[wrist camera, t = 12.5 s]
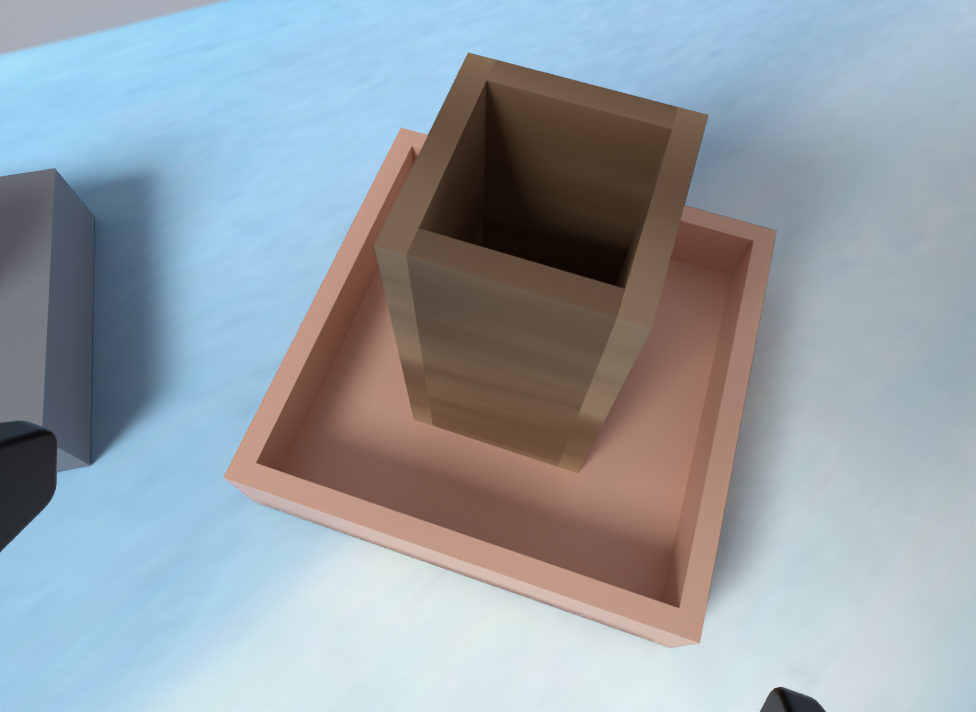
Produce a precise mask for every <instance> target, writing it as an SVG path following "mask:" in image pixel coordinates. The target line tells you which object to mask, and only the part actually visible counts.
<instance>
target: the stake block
mask: <svg viewBox="0 0 976 712" xmlns="http://www.w3.org/2000/svg"><path fill="white" fill-rule="evenodd" d="M94 225H95V217H94V216H93V214H92V213H91V212H90V211H89V209H88V208H87V207H86V206H85V205H84V203H83V202H82V201H81V200H80V198H79V197H78V196H77V195H76V194H75V192H74V191H73V190H72V189H71V187H70V186H69V185H68V184H67V183H66V181H65V180H64V179H63V178H62V176H61V175H60V174H59V173H58V171H57V170H56V169H55V168H54V169H48V170H41V171H34V172H28V173H21V174H15V175H8V176H2V177H0V423H1V422H10V421H19V420H21V421H27V422H31V423H34V424H36V425H39V426H42V427H45V428H48V429H50V430H51V431H53V432H54V433H55V435H56V438H57V442H58V447H57V472H60V471H65V470H70V469H75V468H80V467H85V466H90V447H91V391H92V336H93V281H94Z"/></svg>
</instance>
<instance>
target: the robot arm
mask: <svg viewBox="0 0 976 712" xmlns="http://www.w3.org/2000/svg"><path fill="white" fill-rule="evenodd" d="M57 447H58V442H57V438H56V435H55V433H54V432H53V431H51V430H50V429H48V428H45V427H42V426H39V425H36V424H34V423H31V422H27V421H21V420H19V421H10V422H1V423H0V552H1V551H2V550H3V549H4V548H5V547H6V546H7V545H8V544H9V543H10V542H11V541H12V540H13V539H14V538H15V537H16V536H17V535H18V534H19V533H20V532H21V531H22V530H23V529H24V528H25V527H26V526H27V525H28V524H29V523H30V522H31V521H32V520H33V519H34V518H35V517H36V516H37V515H38V514H39V513H40V512H41V511H42V510H43V509H44V508H45V507H46V506H47V505H48V503H49V502H50V501H51V499H52V497H53V495H54V493H55V490H56V484H57ZM760 712H826V711H825V710H824V709H823V707H822V706H821V705H820V704H819V703H818V702H817V701H816V700H815V699H813V698H812V697H809V696H807V695H804V694H801V693H798V692H795V691H792V690H790V689H787V688H784V687H777V688H774V689H773V690H772V691H771V692H770V694H769V695H768V697H767V699H766V701H765V703H764V705H763V707H762V709H761V711H760Z"/></svg>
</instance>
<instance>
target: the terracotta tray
mask: <svg viewBox="0 0 976 712" xmlns="http://www.w3.org/2000/svg"><path fill="white" fill-rule="evenodd" d="M427 136H428V135H426V134H422V133H418V132H415V131H411V130H408V129H404V128H401V129H400V131H399V133H398V135H397V137H396V139H395V141H394V142H393V144H392V146H391V148H390V150H389V152H388V154H387V156H386V158H385V160H384V162H383V164H382V166H381V168H380V170H379V172H378V174H377V176H376V178H375V180H374V182H373V184H372V186H371V188H370V190H369V192H368V194H367V196H366V198H365V200H364V202H363V204H362V206H361V207H360V209H359V211H358V213H357V215H356V217H355V219H354V221H353V223H352V225H351V227H350V229H349V231H348V233H347V235H346V237H345V239H344V241H343V243H342V245H341V247H340V249H339V251H338V253H337V255H336V257H335V259H334V261H333V263H332V265H331V267H330V269H329V270H328V272H327V274H326V276H325V278H324V280H323V282H322V284H321V286H320V288H319V290H318V292H317V294H316V296H315V298H314V300H313V302H312V304H311V306H310V308H309V310H308V312H307V314H306V316H305V318H304V320H303V322H302V324H301V326H300V328H299V330H298V332H297V334H296V335H295V337H294V339H293V341H292V343H291V345H290V347H289V349H288V351H287V353H286V355H285V357H284V359H283V361H282V363H281V365H280V367H279V369H278V371H277V373H276V375H275V377H274V379H273V381H272V383H271V385H270V387H269V389H268V391H267V393H266V395H265V397H264V399H263V400H262V402H261V404H260V406H259V408H258V410H257V412H256V414H255V416H254V418H253V420H252V422H251V424H250V426H249V428H248V430H247V432H246V434H245V436H244V438H243V440H242V442H241V444H240V446H239V448H238V450H237V452H236V454H235V456H234V458H233V460H232V462H231V463H230V465H229V467H228V469H227V471H226V473H225V475H224V477H223V478H225V479H226V480H227V481H228V482H230V483H231V484H232V485H233V486H235V487H236V488H237V489H238V490H240V491H241V492H242V493H243V494H244V495H246V496H247V497H248V498H249V499H251V500H252V501H253V502H256V503H259V504H262V505H265V506H268V507H270V508H273V509H276V510H279V511H282V512H285V513H287V514H290V515H293V516H296V517H299V518H302V519H305V520H307V521H310V522H313V523H316V524H319V525H322V526H325V527H327V528H330V529H333V530H336V531H339V532H342V533H345V534H347V535H350V536H353V537H356V538H359V539H362V540H364V541H367V542H370V543H373V544H376V545H379V546H382V547H384V548H387V549H390V550H393V551H396V552H399V553H402V554H404V555H407V556H410V557H413V558H416V559H419V560H422V561H424V562H427V563H430V564H433V565H436V566H439V567H441V568H444V569H447V570H450V571H453V572H456V573H459V574H461V575H464V576H467V577H470V578H473V579H476V580H479V581H481V582H484V583H487V584H490V585H493V586H496V587H499V588H501V589H504V590H507V591H510V592H513V593H516V594H518V595H521V596H524V597H527V598H530V599H533V600H536V601H538V602H541V603H544V604H547V605H550V606H553V607H556V608H558V609H561V610H564V611H567V612H570V613H573V614H576V615H578V616H581V617H584V618H587V619H590V620H593V621H595V622H598V623H601V624H604V625H607V626H610V627H613V628H615V629H618V630H621V631H624V632H627V633H630V634H633V635H635V636H638V637H641V638H644V639H647V640H650V641H653V642H655V643H658V644H661V645H664V646H667V647H670V648H673V647H679V646H685V645H692V644H698V643H700V639H701V633H702V628H703V623H704V617H705V612H706V607H707V601H708V596H709V590H710V585H711V580H712V574H713V569H714V564H715V558H716V553H717V548H718V542H719V537H720V531H721V526H722V521H723V515H724V510H725V505H726V499H727V494H728V489H729V483H730V478H731V472H732V467H733V462H734V456H735V451H736V446H737V440H738V435H739V430H740V424H741V419H742V413H743V408H744V403H745V397H746V392H747V387H748V381H749V376H750V371H751V365H752V360H753V354H754V349H755V344H756V338H757V333H758V328H759V322H760V317H761V312H762V306H763V301H764V295H765V290H766V285H767V279H768V274H769V269H770V263H771V258H772V252H773V247H774V242H775V236H776V230H772V229H769V228H765V227H761V226H758V225H754V224H750V223H747V222H743V221H739V220H736V219H732V218H729V217H725V216H721V215H718V214H714V213H710V212H707V211H703V210H699V209H696V208H692V207H688V206H685V205H684V209H683V212H682V216H681V220H680V224H679V228H678V231H677V235H676V239H675V243H674V246H673V250H672V254H671V258H670V262H669V265H668V269H667V273H666V277H665V280H664V284H663V288H662V292H661V296H660V299H659V303H658V307H657V311H656V314H655V318H654V322H653V326H652V329H651V331H650V333H649V335H648V337H647V339H646V341H645V343H644V345H643V347H642V349H641V351H640V353H639V355H638V356H637V358H636V360H635V362H634V364H633V366H632V368H631V370H630V372H629V374H628V376H627V378H626V380H625V382H624V384H623V386H622V388H621V390H620V392H619V394H618V396H617V398H616V399H615V401H614V403H613V405H612V407H611V409H610V411H609V413H608V415H607V417H606V419H605V421H604V423H603V425H602V427H601V429H600V431H599V433H598V435H597V437H596V439H595V441H594V442H593V444H592V446H591V448H590V450H589V452H588V454H587V456H586V458H585V460H584V462H583V464H582V466H581V468H580V470H579V472H578V473H575V472H572V471H569V470H566V469H563V468H560V467H557V466H553V465H550V464H547V463H544V462H541V461H538V460H535V459H532V458H529V457H526V456H523V455H520V454H517V453H514V452H511V451H508V450H505V449H502V448H499V447H496V446H493V445H490V444H487V443H484V442H481V441H478V440H474V439H471V438H468V437H465V436H462V435H459V434H456V433H453V432H450V431H447V430H444V429H441V428H438V427H435V426H432V425H429V424H426V423H423V422H420V421H417V420H414V419H413V414H412V410H411V406H410V401H409V397H408V392H407V388H406V384H405V379H404V375H403V370H402V366H401V362H400V357H399V353H398V348H397V344H396V339H395V335H394V331H393V326H392V322H391V317H390V313H389V309H388V304H387V300H386V295H385V291H384V287H383V282H382V278H381V273H380V269H379V265H378V260H377V256H376V251H375V247H374V245H375V243H376V241H377V239H378V237H379V235H380V232H381V230H382V228H383V226H384V224H385V222H386V220H387V218H388V216H389V214H390V212H391V210H392V208H393V206H394V204H395V202H396V200H397V198H398V196H399V193H400V191H401V189H402V187H403V185H404V183H405V181H406V179H407V177H408V175H409V173H410V171H411V169H412V167H413V165H414V163H415V161H416V159H417V157H418V155H419V152H420V150H421V148H422V146H423V144H424V142H425V140H426V138H427Z"/></svg>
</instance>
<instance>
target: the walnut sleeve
mask: <svg viewBox="0 0 976 712" xmlns="http://www.w3.org/2000/svg"><path fill="white" fill-rule="evenodd" d="M707 118H708V115H706V114H703V113H699V112H695V111H691V110H687V109H683V108H679V107H676V106H672V105H668V104H664V103H660V102H656V101H653V100H649V99H645V98H641V97H637V96H633V95H629V94H626V93H622V92H618V91H614V90H610V89H606V88H603V87H599V86H595V85H591V84H587V83H583V82H579V81H576V80H572V79H568V78H564V77H560V76H556V75H552V74H549V73H545V72H541V71H537V70H533V69H529V68H526V67H522V66H518V65H514V64H510V63H506V62H502V61H499V60H495V59H491V58H487V57H483V56H479V55H476V54H472V53H468V54H467V56H466V58H465V60H464V62H463V64H462V66H461V68H460V70H459V72H458V74H457V77H456V79H455V81H454V83H453V85H452V87H451V89H450V91H449V93H448V95H447V97H446V99H445V101H444V103H443V105H442V107H441V109H440V111H439V113H438V116H437V118H436V120H435V122H434V124H433V126H432V128H431V130H430V132H429V134H428V136H427V138H426V140H425V142H424V144H423V146H422V148H421V150H420V152H419V155H418V157H417V159H416V161H415V163H414V165H413V167H412V169H411V171H410V173H409V175H408V177H407V179H406V181H405V183H404V185H403V187H402V189H401V191H400V193H399V196H398V198H397V200H396V202H395V204H394V206H393V208H392V210H391V212H390V214H389V216H388V218H387V220H386V222H385V224H384V226H383V228H382V230H381V232H380V235H379V237H378V239H377V241H376V243H375V245H374V247H375V251H376V256H377V260H378V265H379V269H380V273H381V278H382V282H383V287H384V291H385V295H386V300H387V304H388V309H389V313H390V317H391V322H392V326H393V331H394V335H395V339H396V344H397V348H398V353H399V357H400V362H401V366H402V370H403V375H404V379H405V384H406V388H407V392H408V397H409V401H410V406H411V410H412V414H413V419H414V420H417V421H420V422H423V423H426V424H429V425H432V426H435V427H438V428H441V429H444V430H447V431H450V432H453V433H456V434H459V435H462V436H465V437H468V438H471V439H474V440H478V441H481V442H484V443H487V444H490V445H493V446H496V447H499V448H502V449H505V450H508V451H511V452H514V453H517V454H520V455H523V456H526V457H529V458H532V459H535V460H538V461H541V462H544V463H547V464H550V465H553V466H557V467H560V468H563V469H566V470H569V471H572V472H575V473H578V472H579V470H580V468H581V466H582V464H583V462H584V460H585V458H586V456H587V454H588V452H589V450H590V448H591V446H592V444H593V442H594V441H595V439H596V437H597V435H598V433H599V431H600V429H601V427H602V425H603V423H604V421H605V419H606V417H607V415H608V413H609V411H610V409H611V407H612V405H613V403H614V401H615V399H616V398H617V396H618V394H619V392H620V390H621V388H622V386H623V384H624V382H625V380H626V378H627V376H628V374H629V372H630V370H631V368H632V366H633V364H634V362H635V360H636V358H637V356H638V355H639V353H640V351H641V349H642V347H643V345H644V343H645V341H646V339H647V337H648V335H649V333H650V331H651V329H652V326H653V322H654V318H655V314H656V311H657V307H658V303H659V299H660V296H661V292H662V288H663V284H664V280H665V277H666V273H667V269H668V265H669V262H670V258H671V254H672V250H673V246H674V243H675V239H676V235H677V231H678V228H679V224H680V220H681V216H682V212H683V209H684V205H685V201H686V197H687V194H688V190H689V186H690V182H691V178H692V175H693V171H694V167H695V163H696V160H697V156H698V152H699V148H700V144H701V141H702V137H703V133H704V129H705V126H706V122H707Z"/></svg>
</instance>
